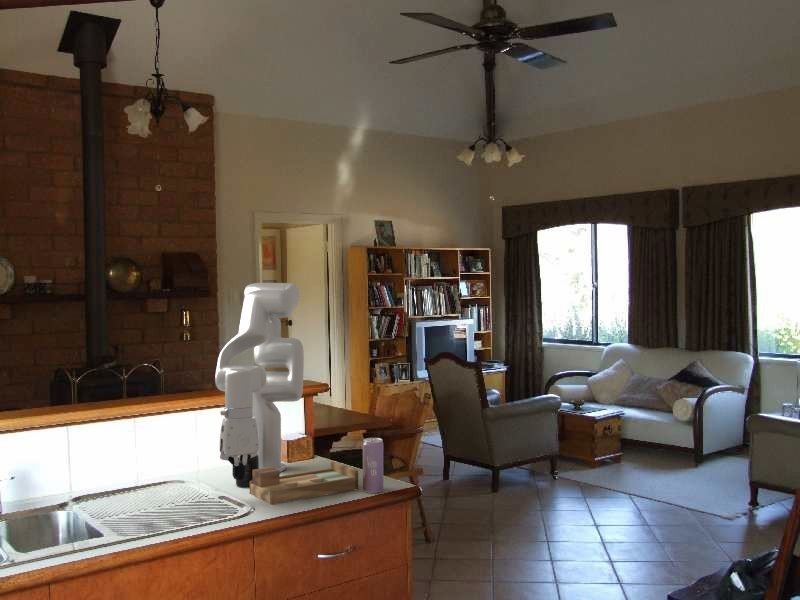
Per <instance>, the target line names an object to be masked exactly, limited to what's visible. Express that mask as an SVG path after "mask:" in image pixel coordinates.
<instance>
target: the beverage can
mask: <svg viewBox="0 0 800 600" xmlns="http://www.w3.org/2000/svg"><path fill="white" fill-rule="evenodd" d="M362 490H363V492H364V491H365V492H364V493H366V492H368V493H367V494H378V493H377V492H380V493H381V491H382V492H383V490H384V442H383V439H382V438H381V437H367V438H364V439H363V440H362Z"/></svg>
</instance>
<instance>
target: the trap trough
mask: <svg viewBox="0 0 800 600" xmlns="http://www.w3.org/2000/svg"><path fill="white" fill-rule="evenodd" d="M354 489H357V490H359V470H358V469H354V468H352V467H349V466H347V465H344V464H341V463H339V462H336V461H331V462H330V468H324V469H317V470H311V471H306V472H305V471H304V472H299V473H292V474H286V475H280V484H278V485H272V486H266V487H258V486H256V485H254V484H253V481H250V487H249V494H250V495H252V496H254V497H256V498H258V499H260V500H262V501H264V502H266V503H267V504H270V505H278V504H284V503H289V501H290V502H293V501H294V500H295V501H299V500H305V499H306V498H307V499H311V498H310V497H312V498H317V497H316V496H318V497H322V496H321V495H323V496H327V495H326V494H329V495H333V494H332V493H335V494H339V493H338V492H340V493H344V492H343V491H346V492H350V491H349V490H351V491H355V490H354ZM295 501H294V502H295Z"/></svg>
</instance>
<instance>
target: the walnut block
mask: <svg viewBox="0 0 800 600" xmlns="http://www.w3.org/2000/svg"><path fill="white" fill-rule="evenodd" d="M280 473H281V472H280V470H277V469H275V468H273V467H268V468H261V469H255V470H253V484H254V485H256V486H258V487H266V486H272V485H278V484H280V476H281V475H280Z"/></svg>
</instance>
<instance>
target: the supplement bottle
mask: <svg viewBox="0 0 800 600" xmlns="http://www.w3.org/2000/svg"><path fill="white" fill-rule="evenodd" d="M238 461H239V455H238ZM255 469H259V456H258V455H257V456H254V457H252V458H250V459H249V460H248V461H247V464H246V465H245V476H244V480H241V479H240V480H236V479H235V485H236V486H237V487H239V488H250V481H253V470H255Z"/></svg>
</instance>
